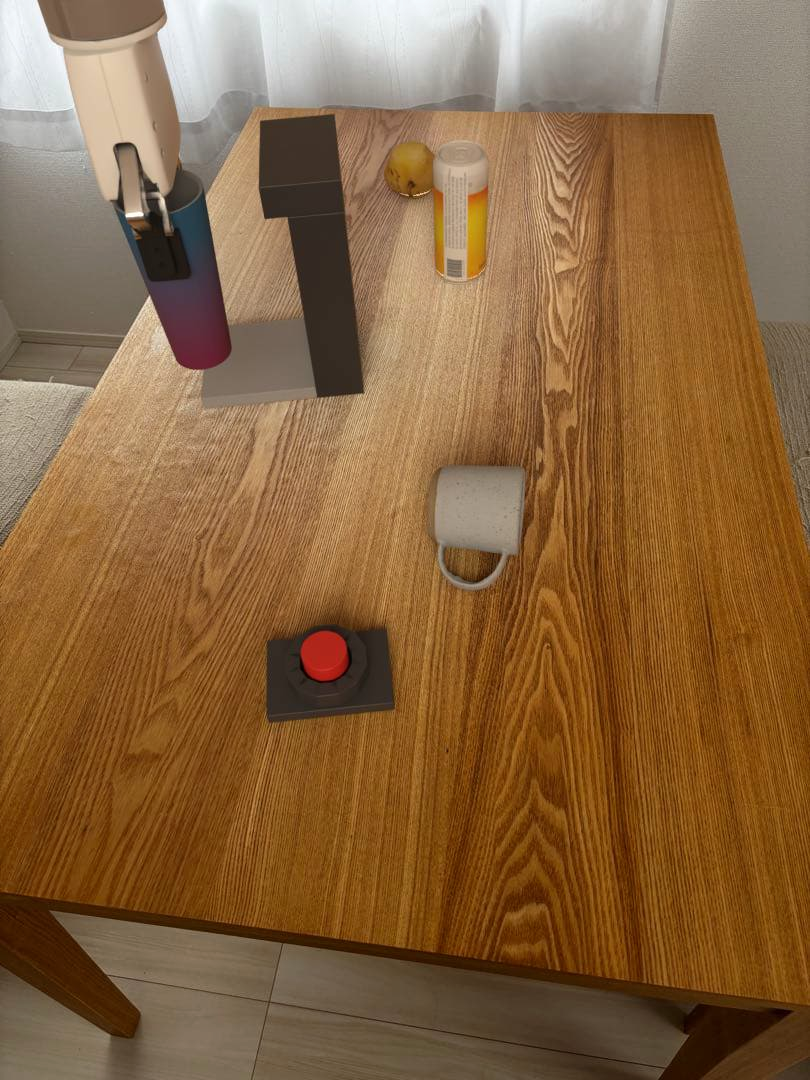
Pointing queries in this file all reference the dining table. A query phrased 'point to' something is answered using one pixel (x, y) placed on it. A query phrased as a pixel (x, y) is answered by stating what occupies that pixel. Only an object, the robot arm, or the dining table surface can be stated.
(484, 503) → the ceramic mug
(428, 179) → the fruit
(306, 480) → the dining table surface
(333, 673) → the button
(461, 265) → the beer can
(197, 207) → the cup
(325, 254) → the coffee maker
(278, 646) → the pad
